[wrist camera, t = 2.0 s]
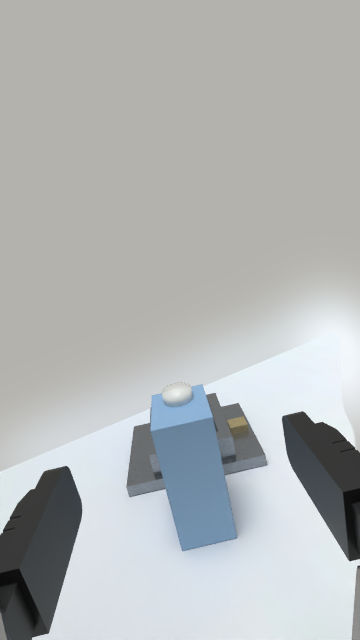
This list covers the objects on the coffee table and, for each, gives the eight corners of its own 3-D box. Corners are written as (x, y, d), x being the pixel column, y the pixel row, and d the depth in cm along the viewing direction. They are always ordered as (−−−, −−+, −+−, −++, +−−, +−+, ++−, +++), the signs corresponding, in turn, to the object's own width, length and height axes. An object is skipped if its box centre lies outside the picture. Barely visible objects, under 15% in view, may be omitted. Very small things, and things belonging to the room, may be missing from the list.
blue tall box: (182, 551, 23) (147, 421, 20) (177, 498, 28) (149, 387, 25) (237, 538, 23) (210, 406, 20) (223, 487, 28) (200, 375, 25)
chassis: (129, 496, 29) (120, 465, 28) (136, 434, 39) (129, 409, 38) (266, 464, 30) (262, 433, 29) (239, 410, 39) (235, 386, 38)
